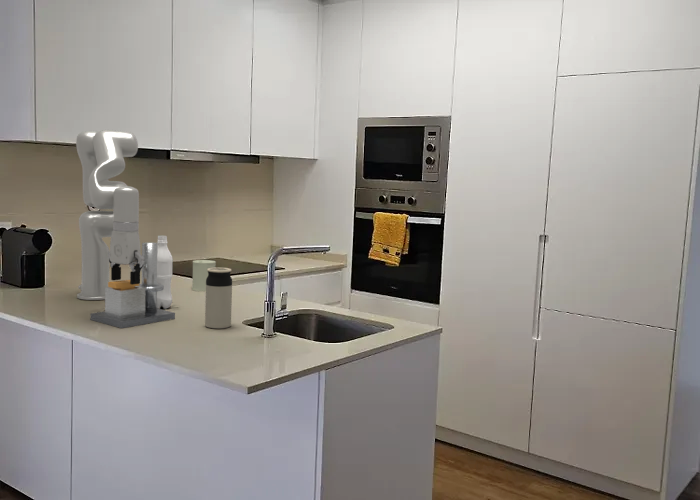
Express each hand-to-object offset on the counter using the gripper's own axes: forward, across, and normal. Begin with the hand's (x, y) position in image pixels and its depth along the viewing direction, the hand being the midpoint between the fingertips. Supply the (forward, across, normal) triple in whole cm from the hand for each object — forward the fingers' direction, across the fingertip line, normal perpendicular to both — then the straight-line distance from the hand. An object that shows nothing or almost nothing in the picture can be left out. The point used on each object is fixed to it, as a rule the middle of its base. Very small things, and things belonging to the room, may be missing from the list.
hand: (125, 281), depth 215 cm
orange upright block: (+10, 0, -1) cm, 10 cm away
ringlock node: (+12, 0, +3) cm, 13 cm away
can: (+13, -27, +56) cm, 63 cm away
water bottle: (+12, -9, +21) cm, 26 cm away
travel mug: (+12, +25, +16) cm, 32 cm away
